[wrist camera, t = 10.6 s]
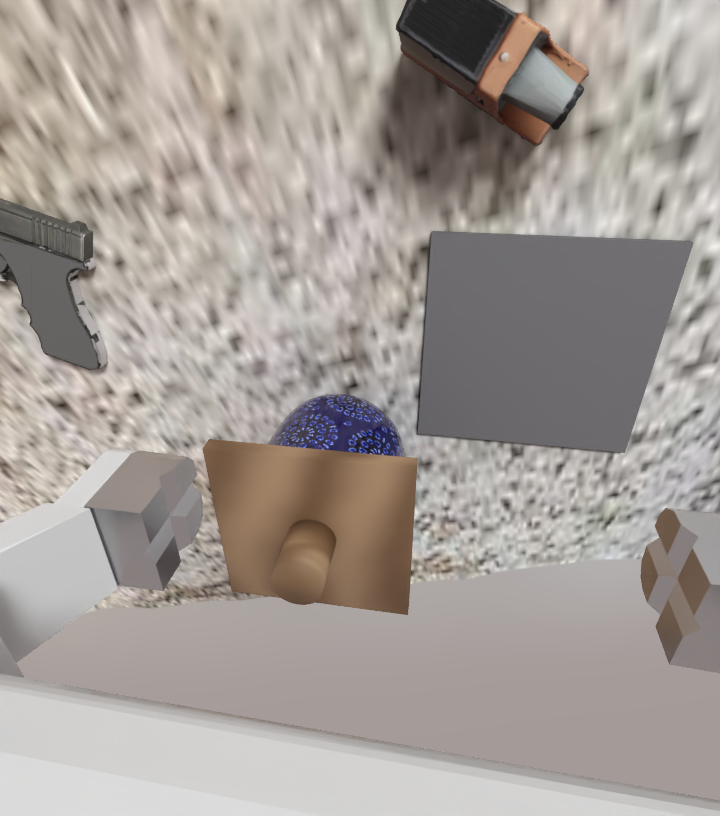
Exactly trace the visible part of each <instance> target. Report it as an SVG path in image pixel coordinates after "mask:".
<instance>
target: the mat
mask: <svg viewBox="0 0 720 816" xmlns="http://www.w3.org/2000/svg"><path fill="white" fill-rule="evenodd" d="M692 245H693V242H691V241H673V240H648V239H622V238H596V237H570V236H544V235H519V234H493V233H467V232H441V231H432V233H431V247H430V262H429V276H428V291H427V305H426V320H425V334H424V349H423V363H422V378H421V392H420V407H419V421H418V434H429V435H440V436H450V437H461V438H472V439H483V440H493V441H504V442H515V443H526V444H536V445H547V446H558V447H569V448H579V449H590V450H601V451H612V452H622V453H625V450H626V447H627V444H628V441H629V438H630V435H631V432H632V429H633V426H634V423H635V420H636V417H637V414H638V411H639V407H640V404H641V401H642V398H643V395H644V392H645V389H646V386H647V383H648V380H649V377H650V374H651V371H652V368H653V365H654V362H655V359H656V355H657V352H658V349H659V346H660V343H661V340H662V337H663V334H664V331H665V328H666V325H667V322H668V319H669V316H670V313H671V310H672V307H673V303H674V300H675V297H676V294H677V291H678V288H679V285H680V282H681V279H682V276H683V273H684V270H685V267H686V264H687V261H688V258H689V255H690V251H691V248H692Z"/></svg>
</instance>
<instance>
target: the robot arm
mask: <svg viewBox="0 0 720 816" xmlns="http://www.w3.org/2000/svg"><path fill="white" fill-rule="evenodd" d="M196 476H197V473H196V469H195V465H194V461H193V460H191V459H190V458H188V457H184V456H177V455H169V454H161V453H154V452H146V451H135V450H127V449H119V448H113V449H109V450H106V451H105V452H104V453H103V454H102V455H101V456H100V457H99V458H98V459H97V460H96V461H95V462H94V463H93V464H92V466H91V467H90V468H89V469H88V470H87V471H86V472H85V473H84V474H83V475H82V476H81V477H80V478H79V479H78V480H77V481H76V482H75V483H74V484H73V485H72V486H71V487H70V488H69V489H68V490H67V491H66V492H65V493H64V494H63V495H62V496H61V497H60V498H59V499H58V500H57V501H56V502H55V503H54V504H50V503H44V504H42V505H40V506H38V507H35V508H33V509H31V510H29V511H26V512H24V513H22V514H20V515H17V516H15V517H13V518H11V519H8V520H6V521H4V522H2V523H0V816H720V801H719V800H713V799H708V798H701V797H696V796H691V795H685V794H679V793H674V792H668V791H662V790H657V789H651V788H645V787H640V786H634V785H628V784H623V783H617V782H610V781H605V780H600V779H594V778H588V777H583V776H577V775H571V774H566V773H560V772H554V771H548V770H542V769H537V768H532V767H526V766H520V765H515V764H509V763H504V762H497V761H492V760H486V759H480V758H475V757H469V756H463V755H458V754H452V753H446V752H441V751H435V750H430V749H424V748H418V747H413V746H407V745H401V744H396V743H390V742H384V741H379V740H373V739H367V738H362V737H356V736H350V735H344V734H339V733H333V732H327V731H322V730H316V729H311V728H305V727H299V726H294V725H288V724H282V723H277V722H271V721H265V720H260V719H254V718H248V717H243V716H236V715H232V714H226V713H220V712H215V711H209V710H203V709H198V708H192V707H186V706H180V705H175V704H169V703H164V702H158V701H152V700H147V699H141V698H135V697H130V696H124V695H118V694H113V693H107V692H102V691H96V690H90V689H84V688H79V687H73V686H67V685H61V684H56V683H51V682H45V681H39V680H34V679H28V678H24V676H23V674H22V672H21V671H20V669H19V667H18V666H17V664H16V663H17V662H18V661H19V660H21V659H22V658H23V657H25V656H26V655H28V654H29V653H30V652H32V651H33V650H34V649H36V648H37V647H38V646H40V645H41V644H43V643H44V642H45V641H47V640H48V639H49V638H51V637H52V636H53V635H55V634H56V633H58V632H59V631H60V630H61V629H63V628H64V627H66V626H67V625H68V624H70V623H71V622H73V621H74V620H75V619H77V618H78V617H79V616H81V615H82V614H84V613H85V612H86V611H88V610H89V609H90V608H92V607H93V606H94V605H96V604H97V603H99V602H100V601H101V600H103V599H104V598H105V597H107V596H108V595H109V594H111V593H112V592H114V591H115V590H116V589H118V586H126V587H135V588H143V589H152V590H161V591H164V589H165V587H166V586H167V584H168V582H169V581H170V579H171V577H172V576H173V574H174V572H175V571H176V569H177V567H178V566H179V564H180V562H181V560H180V556H179V552H178V551H180V550H181V549H183V548H184V547H186V546H188V545H189V544H191V543H192V542H193V540H194V538H195V536H196V535H197V533H198V531H199V527H200V524H201V520H202V516H203V502H202V497H201V493H200V492H199V491H198V490H197V489H196V488H195V487H194V486H193V485H192V484H191V483H192V482H193V480H194V479H195V477H196ZM655 528H656V530H657V532H658V535H659V537H660V538H658V539H657V540H655V541H654V542H652V543H650V544H649V545H647V547H646V550H645V553H644V555H643V558H642V566H641V581H642V588H643V592H644V595H645V598H646V600H647V603H648V604H649V605H650V606H652V607H653V608H654V609H655V610H656V611H657V612H658V613H659V614H660V618H659V620H658V622H657V624H656V629H657V631H658V634H659V637H660V640H661V642H662V645H663V648H664V651H665V654H666V656H667V659H668V662H669V664H670V665H676V666H682V667H689V668H694V669H700V670H706V671H711V672H717V673H720V514H719V513H710V512H700V511H690V510H680V509H670V508H665V509H664V510H663V512H662V513H661V514H660V515H659V517H658V520H657V522H656V524H655Z"/></svg>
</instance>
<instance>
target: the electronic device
mask: <svg viewBox="0 0 720 816" xmlns="http://www.w3.org/2000/svg"><path fill="white" fill-rule="evenodd" d="M396 30H397V31H398V32H399V36H400V40H401V51H402V52H403V53H404V54H405V55H406V56H407V57H409V58H410V59H412V60H413V61H415V62H416V63H418V64H419V65H420V66H422V67H423V68H425V69H426V70H427V71H429V72H430V73H432V74H434V75H435V76H436V77H438V78H439V79H440V80H442V82H444V83H446V84H447V85H448V86H449V87H450V88H453V89H455V90H456V91H457V92H458V93H459V94H460V95H461V96H463V97H464V98H466V99H467V100H469V101H470V102H472V103H473V104H475V105H476V106H477V107H478V108H479V109H481V110H483V111H485V112H487V113H489V114H490V115H491V116H492V117H494V118H495V119H496V120H497V121H498V122H500V123H501V124H503V125H506V126H508V127H509V128H510V129H512V130H513V131H515V132H516V133H518V134H519V135H520V136H521V137H522V138H523V139H526V140H527V141H529V142H530V143H532V144H533V145H534V146H538V145H539V144H541V143H542V140H543V138H544V136H545V135H546V133H547V132H548V130H549V129H550V128H551V127H552V128H553V129H554V130H557V129H559V127H560V126H561V124H562V123H563V122H564V121H565V119H566V118H567V115H568V113H569V112H570V111H571V110H572V108H573V107H574V106H575V104H576V102H577V100H578V98H579V97H580V96H581V95H582V93H583V91H584V88H583V86H582V85H581V83H582V81H583V80H584V79H585V77H587V76H588V74H589V70H588V68H587V66H585V65H583V64H581V63H580V62H578V61H577V60H576V59H574V58H573V57H572V56H570V54H568V53H567V52H565V51H564V50H563V49H562V48H560V47H558V46H557V45H556V44H555V43H554V42H553V41H552V40H551V38H550V34H549V31H548V30H547V29H546V28H545V27H543V26H541V25H539V24H537V23H536V22H534V21H533V20H531V19H530V18H528V17H527V16H526V13H525V12H523V13H517V12H515V11H513V10H512V9H510V8H509V7H507V6H505V5H504V4H502V3H501V2H499V1H498V0H407V1H406V4H405V6H404V9H403V11H402V14H401V16H400V18H399V20H398V22H397V24H396Z"/></svg>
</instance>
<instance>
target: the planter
mask: <svg viewBox="0 0 720 816" xmlns="http://www.w3.org/2000/svg"><path fill="white" fill-rule="evenodd" d="M268 445H278V446H289V447H300V448H311V449H322V450H332V451H343V452H354V453H365V454H376V455H387V456H398V457H405V453H404V448H403V443H402V439H401V437H400V434H399V432H398V430H397V428H396V427H395V425H394V424H393V422H392V421H391V420H390V419H389V417H388V416H387V415H386V414H385V413H384V412H383V411H382V410H380V409H379V408H378V407H376V406H375V405H373V404H372V403H370V402H368V401H366V400H364V399H361V398H358V397H355V396H350V395H343V394H330V395H323V396H319V397H316V398H313V399H310V400H308V401H306V402H304V403H302V404H301V405H299V406H298V407H297V408H296V409H294V410H293V411H292V412H291V413H290V414H289V415H288V416H287V417H286V418H285V420H284V421H283V422H282V424H281V425H280V426H279V428H278V429H277V431H276V432H275V434H274V435H273V437H272V438H271V440H270V442H269V443H268Z"/></svg>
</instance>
